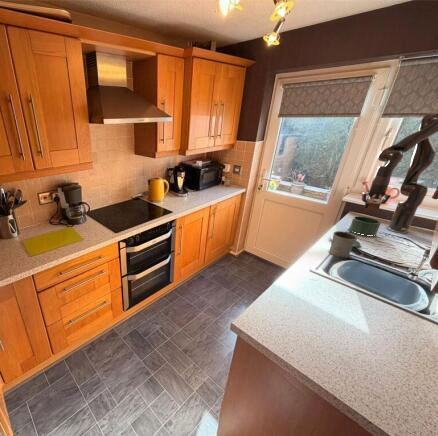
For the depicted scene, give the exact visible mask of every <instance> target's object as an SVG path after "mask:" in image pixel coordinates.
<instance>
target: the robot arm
mask: <svg viewBox="0 0 438 436" xmlns="http://www.w3.org/2000/svg"><path fill="white" fill-rule="evenodd" d="M437 133H438V111H436V112H435V111H433V112H429V113H425V114H424V116H423V117H422V118H421V121H420V124H419V128H418V131H415V132H412V133H411V134H408V135H407V136H405V137H403V138H402V139H401V140H398V142H397V143H395V144H392V145H391V146H388V147H387V148H385V149H383V150H382V151H380V152H379V154H378V156H377V160H378V161H379V162H383V163H387V164H386V165H380V166H378V167H377V168H376V169H377V170H376V171H375V174H374V177H373V179H372V181H371V183H370V184H371V185H370V188H369V191H367V192H361V202H363V203H364V205H363V208H364V209H365V210H367V208H368V205H369V202H372V201H373V200H376V202H377V203H378V204H379V206H378V209H377V211H378V210H380V207H381V205H385V204H386V203H387V202H388V201H389V199H390V198H391V195H390V194H389V193H386V192H387V191H388V187H389V184H390V183H391V178H392V175H393V172H394V170H395V169H396V168H397V166H398V165H399V164H400V162H401V161H402V160H403V157H404V154H405V153H407V152H409V151H410V150H411V149H412V148H414V150H413V152H412V156H411V159H410V163H409V167H408V168H407V172H406V175H405V177H404V179H403V182H402V183H401V186H400V189H399V193H400V194H401V196H404V197H407V198H406V200H400V201H399V202H398V203H397V205H396V208H395V210H394V212H393V215H392V216H391V219H390V221H389V223H388V226H387V230H389V231H391V232H394V233H398V234H407V233H408V230H409V228H410V226H411V224H412V222H413V219H414V217H415V215H416V213H417V210H418V208H419V207H420V205H422V203H423V201H424V199H425V198H426V196H427V194H428V190H429V189H428V186H427V185H426V184H423V183H418V180H419V178H420V176H421V174H422V173H423V172H425V171H426V170H427V169H428V168H429V167H430V166H432V164H433V163H434V160H435V157H436V154H437V149H436V146H435V144H434V143H433V140H432V136H433V135H435V134H437ZM367 196H368V197H367Z"/></svg>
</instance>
